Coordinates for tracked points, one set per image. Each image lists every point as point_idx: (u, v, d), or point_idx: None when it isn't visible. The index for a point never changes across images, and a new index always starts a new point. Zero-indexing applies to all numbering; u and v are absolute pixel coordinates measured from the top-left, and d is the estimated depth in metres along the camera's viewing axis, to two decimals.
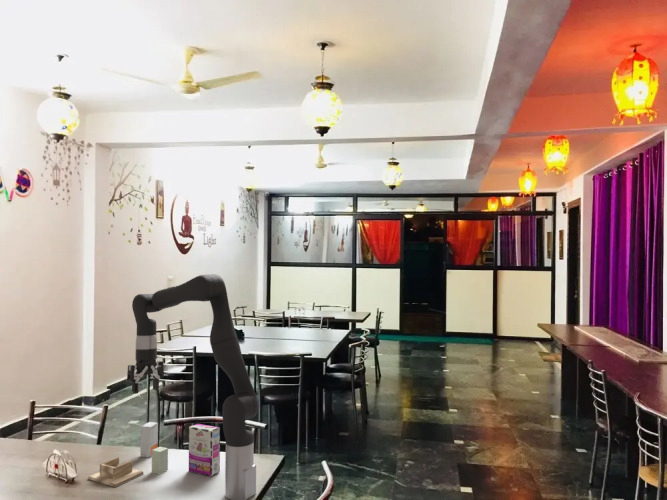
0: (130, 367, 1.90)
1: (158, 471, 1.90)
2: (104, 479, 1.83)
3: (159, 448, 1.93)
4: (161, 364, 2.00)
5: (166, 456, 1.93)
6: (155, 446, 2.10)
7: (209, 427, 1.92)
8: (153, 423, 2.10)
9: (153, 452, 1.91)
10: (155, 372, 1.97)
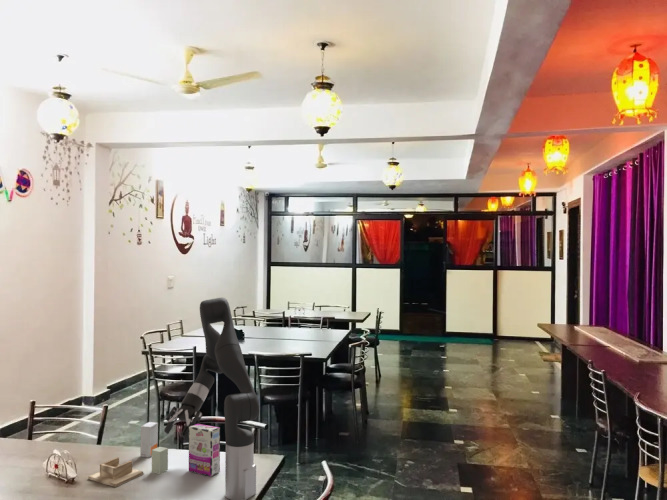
0: None
1: (158, 471, 1.90)
2: (104, 479, 1.83)
3: (159, 448, 1.93)
4: (196, 413, 2.02)
5: (166, 456, 1.93)
6: (155, 446, 2.10)
7: (209, 427, 1.92)
8: (153, 423, 2.10)
9: (153, 452, 1.91)
10: (186, 417, 2.01)
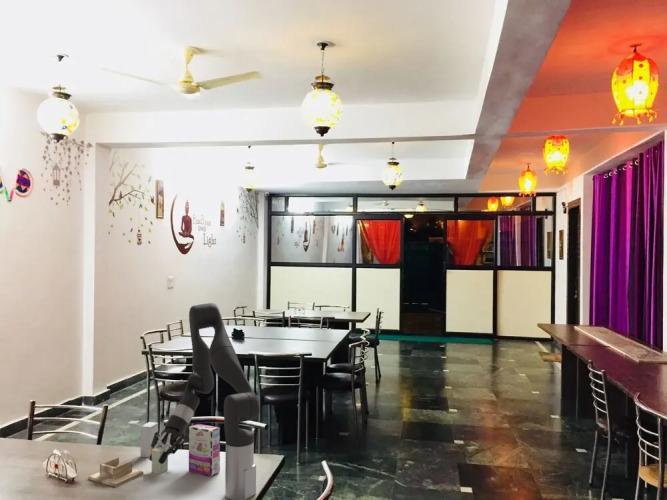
0: None
1: (158, 471, 1.90)
2: (104, 479, 1.83)
3: (159, 448, 1.93)
4: (178, 439, 1.93)
5: None
6: None
7: (209, 427, 1.92)
8: (153, 423, 2.10)
9: (153, 452, 1.92)
10: (167, 442, 1.94)
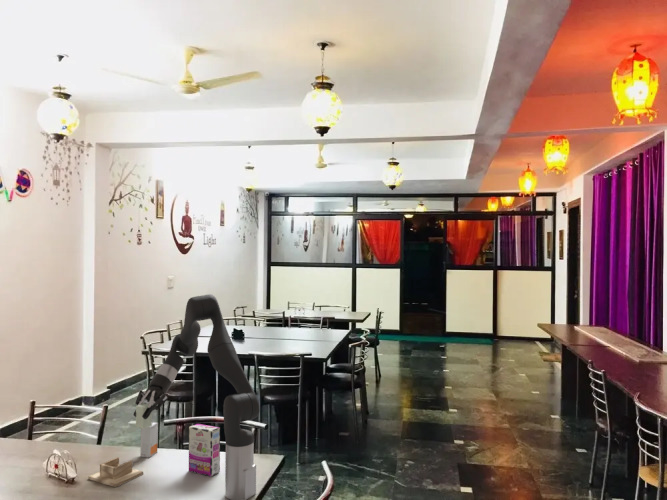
0: None
1: (142, 426, 1.96)
2: (104, 479, 1.83)
3: (143, 405, 1.99)
4: (162, 396, 2.00)
5: None
6: (155, 446, 2.10)
7: (209, 427, 1.92)
8: (153, 423, 2.10)
9: (137, 408, 1.98)
10: (151, 398, 2.00)
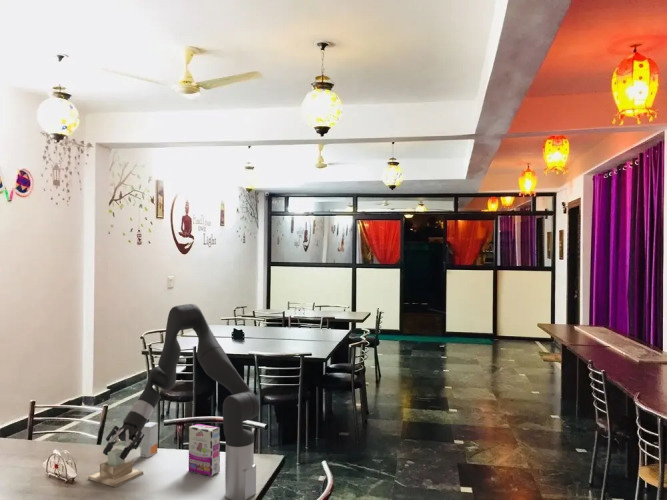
0: None
1: None
2: (104, 479, 1.83)
3: (116, 450, 1.88)
4: (138, 433, 1.89)
5: None
6: (155, 446, 2.10)
7: (209, 427, 1.92)
8: (153, 423, 2.10)
9: (109, 454, 1.86)
10: (127, 437, 1.88)
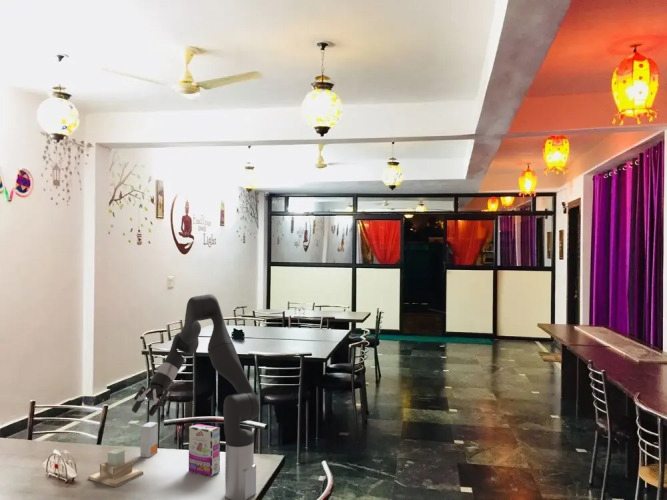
0: None
1: None
2: (104, 479, 1.83)
3: (116, 450, 1.88)
4: (164, 392, 2.00)
5: (123, 458, 1.88)
6: (155, 446, 2.10)
7: (209, 427, 1.92)
8: (153, 423, 2.10)
9: (109, 454, 1.86)
10: (154, 396, 2.00)
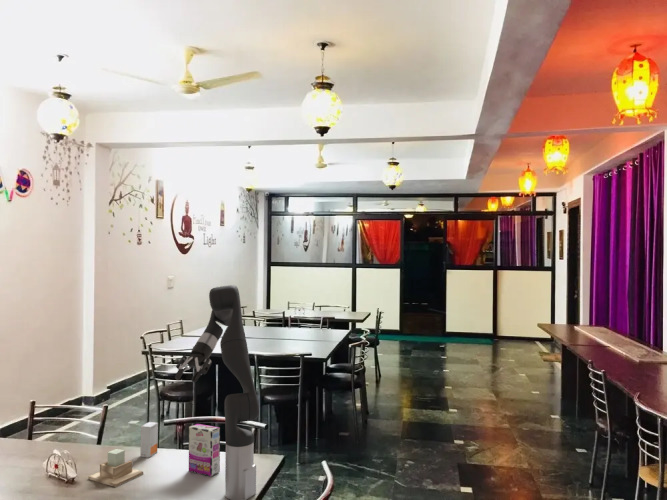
0: None
1: None
2: (104, 479, 1.83)
3: (116, 450, 1.88)
4: (206, 360, 2.07)
5: (123, 458, 1.88)
6: (155, 446, 2.10)
7: (209, 427, 1.92)
8: (153, 423, 2.10)
9: (109, 454, 1.86)
10: (196, 364, 2.06)
